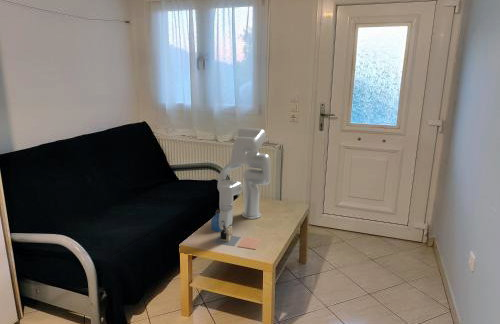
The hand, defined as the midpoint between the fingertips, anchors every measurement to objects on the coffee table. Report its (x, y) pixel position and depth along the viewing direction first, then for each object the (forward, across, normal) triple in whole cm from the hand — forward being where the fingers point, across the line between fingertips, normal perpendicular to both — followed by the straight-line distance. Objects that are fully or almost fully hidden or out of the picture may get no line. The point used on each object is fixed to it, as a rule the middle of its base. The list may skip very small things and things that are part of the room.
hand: (226, 235), depth 200 cm
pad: (+2, +1, +14) cm, 14 cm away
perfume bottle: (+2, -11, -9) cm, 14 cm away
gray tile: (+2, +1, +1) cm, 3 cm away
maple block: (+2, 0, 0) cm, 2 cm away
